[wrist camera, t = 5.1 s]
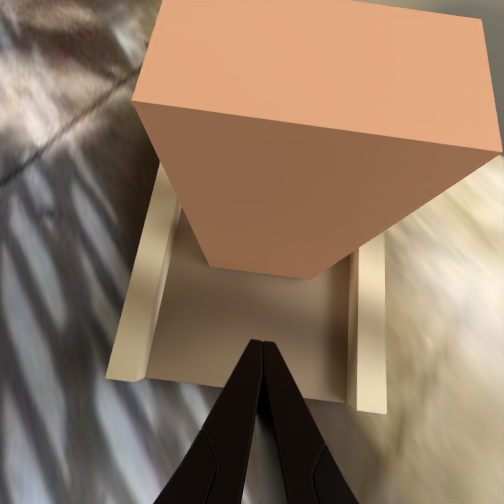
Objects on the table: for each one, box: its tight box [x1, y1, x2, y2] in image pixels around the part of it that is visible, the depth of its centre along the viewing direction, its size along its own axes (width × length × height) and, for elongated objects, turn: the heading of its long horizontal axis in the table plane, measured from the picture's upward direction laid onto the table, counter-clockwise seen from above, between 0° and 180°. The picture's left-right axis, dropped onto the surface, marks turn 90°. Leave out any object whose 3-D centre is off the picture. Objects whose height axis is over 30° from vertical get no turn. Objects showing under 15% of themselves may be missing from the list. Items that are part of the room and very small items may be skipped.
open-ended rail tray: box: [105, 162, 387, 414], centre depth 16 cm, size 20×14×5 cm
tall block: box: [132, 0, 503, 280], centre depth 10 cm, size 3×6×12 cm, turn 83°
